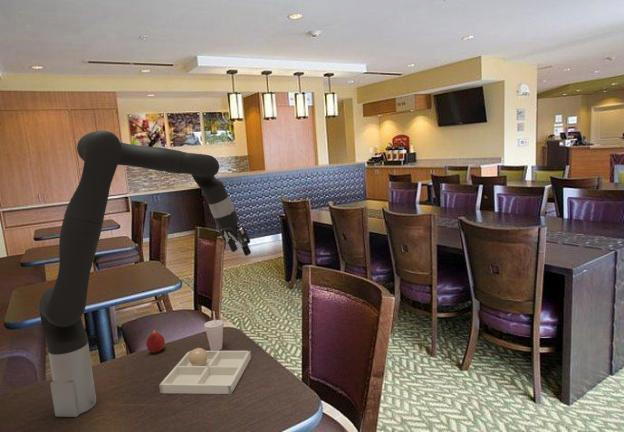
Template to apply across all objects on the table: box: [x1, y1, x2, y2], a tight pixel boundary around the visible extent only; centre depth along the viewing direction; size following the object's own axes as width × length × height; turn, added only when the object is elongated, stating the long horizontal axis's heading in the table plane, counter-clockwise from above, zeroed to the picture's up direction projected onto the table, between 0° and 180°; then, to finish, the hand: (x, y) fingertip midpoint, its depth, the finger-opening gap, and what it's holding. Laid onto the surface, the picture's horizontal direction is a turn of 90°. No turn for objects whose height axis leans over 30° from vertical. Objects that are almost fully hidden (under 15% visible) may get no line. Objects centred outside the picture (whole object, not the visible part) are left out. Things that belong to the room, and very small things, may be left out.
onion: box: [145, 329, 166, 353], centre depth 144 cm, size 6×6×8 cm
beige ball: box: [189, 347, 208, 366], centre depth 132 cm, size 6×6×6 cm
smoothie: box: [203, 310, 224, 351], centre depth 143 cm, size 6×6×14 cm
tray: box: [158, 350, 252, 395], centre depth 127 cm, size 20×20×3 cm
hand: (241, 252), depth 149 cm, fingers open, 8 cm apart
